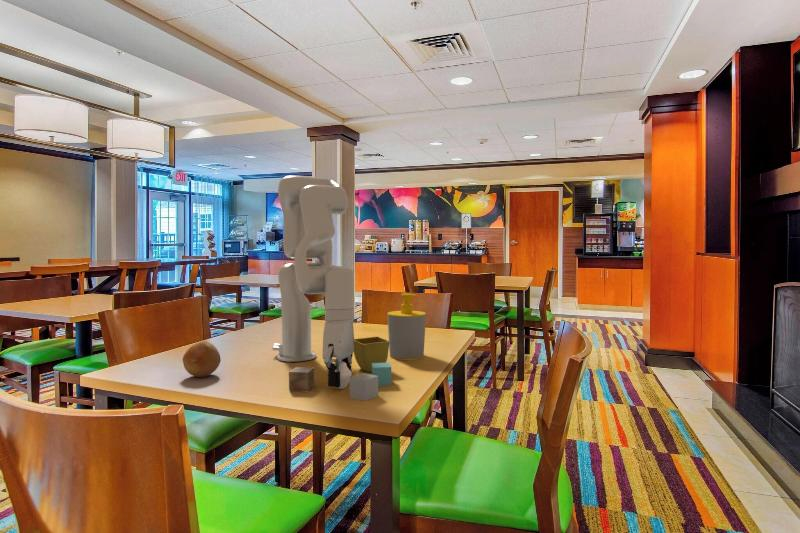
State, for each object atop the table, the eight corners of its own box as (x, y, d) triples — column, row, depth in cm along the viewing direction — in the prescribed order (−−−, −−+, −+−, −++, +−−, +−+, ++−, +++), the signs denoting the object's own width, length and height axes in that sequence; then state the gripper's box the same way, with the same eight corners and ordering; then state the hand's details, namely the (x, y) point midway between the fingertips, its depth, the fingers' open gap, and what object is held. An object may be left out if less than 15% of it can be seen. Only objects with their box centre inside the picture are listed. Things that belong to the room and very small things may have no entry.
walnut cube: (289, 391, 119) (288, 371, 119) (296, 385, 124) (296, 366, 124) (307, 392, 118) (307, 372, 118) (314, 386, 123) (314, 367, 123)
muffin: (356, 386, 123) (356, 359, 122) (341, 392, 118) (341, 364, 117) (338, 382, 126) (338, 356, 126) (323, 388, 121) (323, 361, 121)
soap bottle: (426, 360, 150) (426, 295, 149) (386, 360, 150) (386, 295, 150) (425, 351, 163) (425, 292, 162) (388, 351, 164) (388, 291, 163)
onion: (183, 373, 135) (182, 339, 134) (220, 370, 139) (219, 337, 138) (182, 382, 126) (181, 346, 126) (221, 378, 130) (220, 343, 129)
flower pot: (362, 374, 134) (362, 344, 133) (351, 368, 141) (351, 338, 141) (390, 371, 138) (390, 341, 137) (377, 364, 145) (377, 336, 145)
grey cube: (349, 397, 114) (349, 377, 113) (362, 392, 118) (362, 372, 118) (365, 401, 111) (365, 380, 111) (378, 395, 115) (378, 375, 115)
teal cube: (372, 386, 123) (372, 367, 123) (371, 381, 128) (371, 363, 128) (391, 385, 123) (391, 367, 123) (389, 380, 128) (389, 362, 128)
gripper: (341, 310, 130) (341, 373, 131) (310, 319, 114) (310, 391, 115) (365, 311, 128) (365, 375, 129) (337, 320, 112) (338, 394, 112)
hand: (339, 382), depth 122 cm, fingers closed on muffin, 6 cm apart
